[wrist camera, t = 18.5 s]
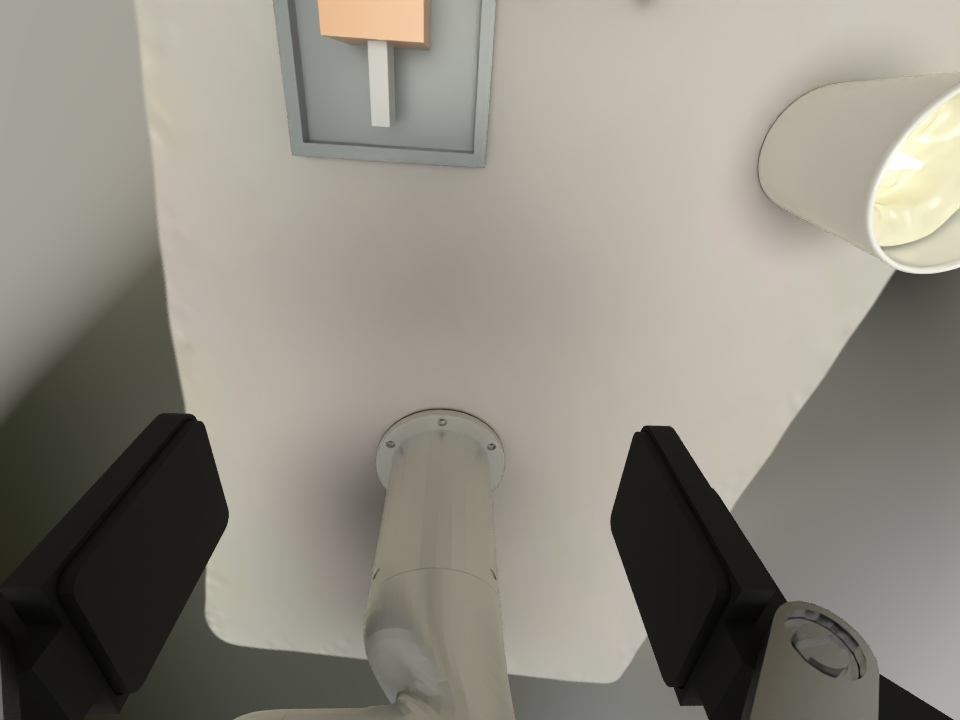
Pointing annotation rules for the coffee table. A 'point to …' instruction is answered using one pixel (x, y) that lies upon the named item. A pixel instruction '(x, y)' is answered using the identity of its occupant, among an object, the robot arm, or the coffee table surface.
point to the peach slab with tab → (379, 40)
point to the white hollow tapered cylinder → (874, 167)
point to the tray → (418, 88)
